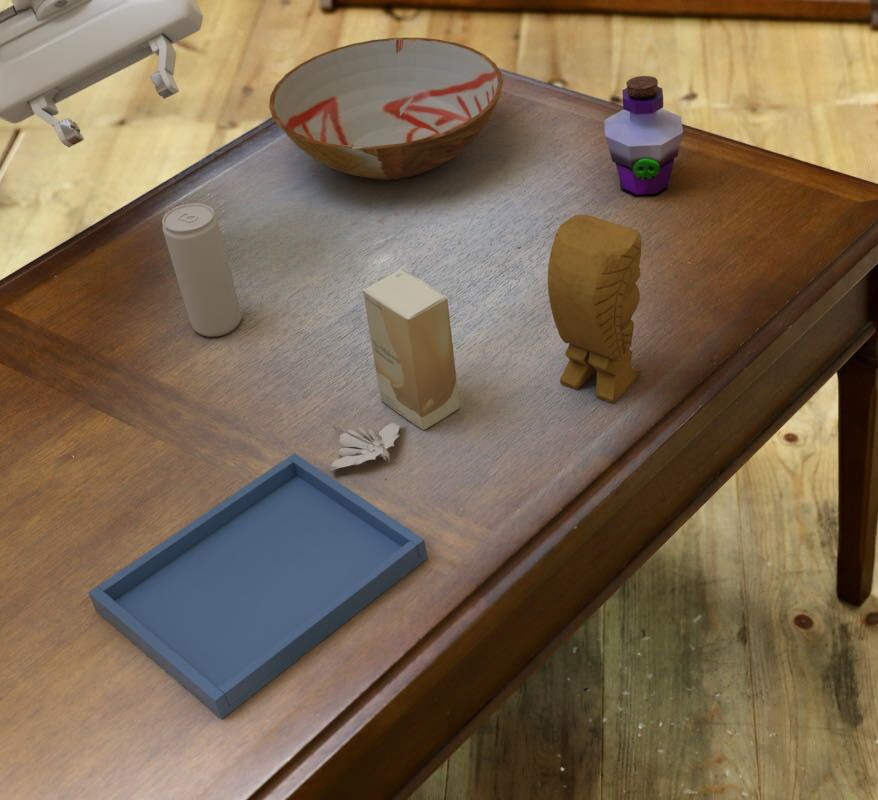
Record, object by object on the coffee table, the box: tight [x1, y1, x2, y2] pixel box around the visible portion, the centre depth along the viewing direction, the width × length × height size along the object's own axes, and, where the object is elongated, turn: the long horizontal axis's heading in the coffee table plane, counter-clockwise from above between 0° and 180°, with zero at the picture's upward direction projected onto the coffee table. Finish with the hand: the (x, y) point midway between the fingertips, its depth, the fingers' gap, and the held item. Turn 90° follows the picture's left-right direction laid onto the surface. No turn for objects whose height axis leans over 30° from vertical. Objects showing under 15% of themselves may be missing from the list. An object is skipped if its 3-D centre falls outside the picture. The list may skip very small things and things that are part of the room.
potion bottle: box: [604, 75, 684, 198], centre depth 143 cm, size 9×9×12 cm
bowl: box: [268, 37, 504, 181], centre depth 151 cm, size 25×25×8 cm
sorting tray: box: [87, 453, 428, 720], centre depth 104 cm, size 20×16×2 cm
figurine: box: [547, 214, 642, 404], centre depth 117 cm, size 7×7×15 cm
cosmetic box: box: [362, 267, 461, 431], centre depth 116 cm, size 6×4×12 cm
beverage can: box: [161, 202, 243, 338], centre depth 127 cm, size 5×5×12 cm
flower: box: [329, 420, 403, 471], centre depth 116 cm, size 8×8×3 cm
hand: (121, 118), depth 120 cm, fingers open, 8 cm apart
